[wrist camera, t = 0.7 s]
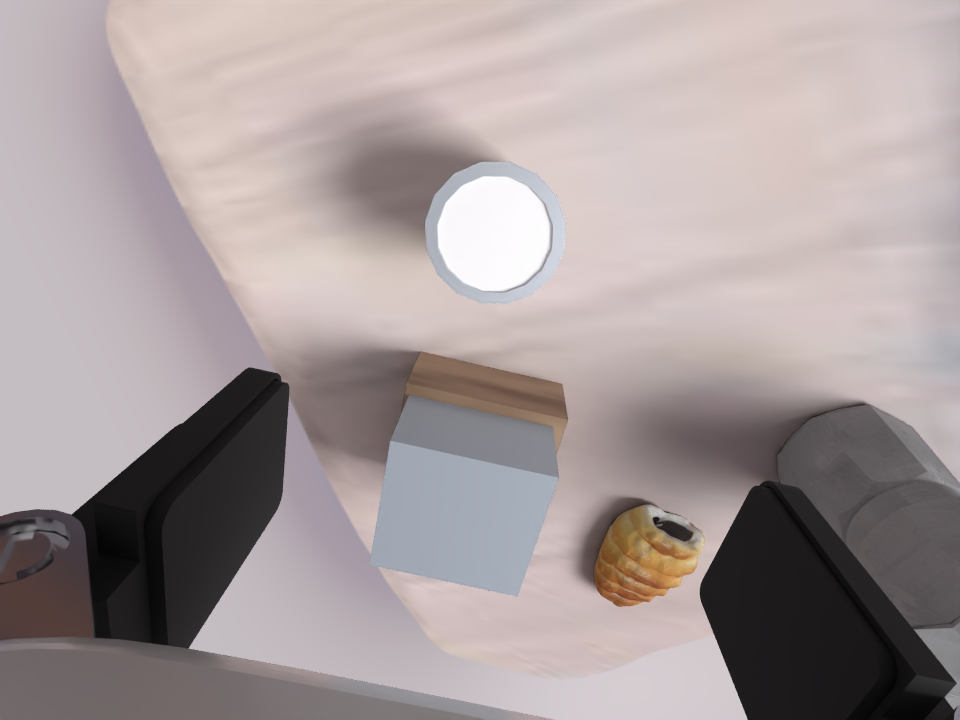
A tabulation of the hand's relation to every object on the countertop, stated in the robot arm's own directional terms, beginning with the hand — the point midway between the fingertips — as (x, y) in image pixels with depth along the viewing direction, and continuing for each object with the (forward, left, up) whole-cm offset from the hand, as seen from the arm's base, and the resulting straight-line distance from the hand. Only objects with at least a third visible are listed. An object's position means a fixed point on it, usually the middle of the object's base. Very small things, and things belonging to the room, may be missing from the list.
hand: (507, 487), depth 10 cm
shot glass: (-1, -1, -24) cm, 24 cm away
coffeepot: (+9, +27, -24) cm, 37 cm away
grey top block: (+14, 0, -19) cm, 23 cm away
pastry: (+21, +16, -24) cm, 35 cm away
